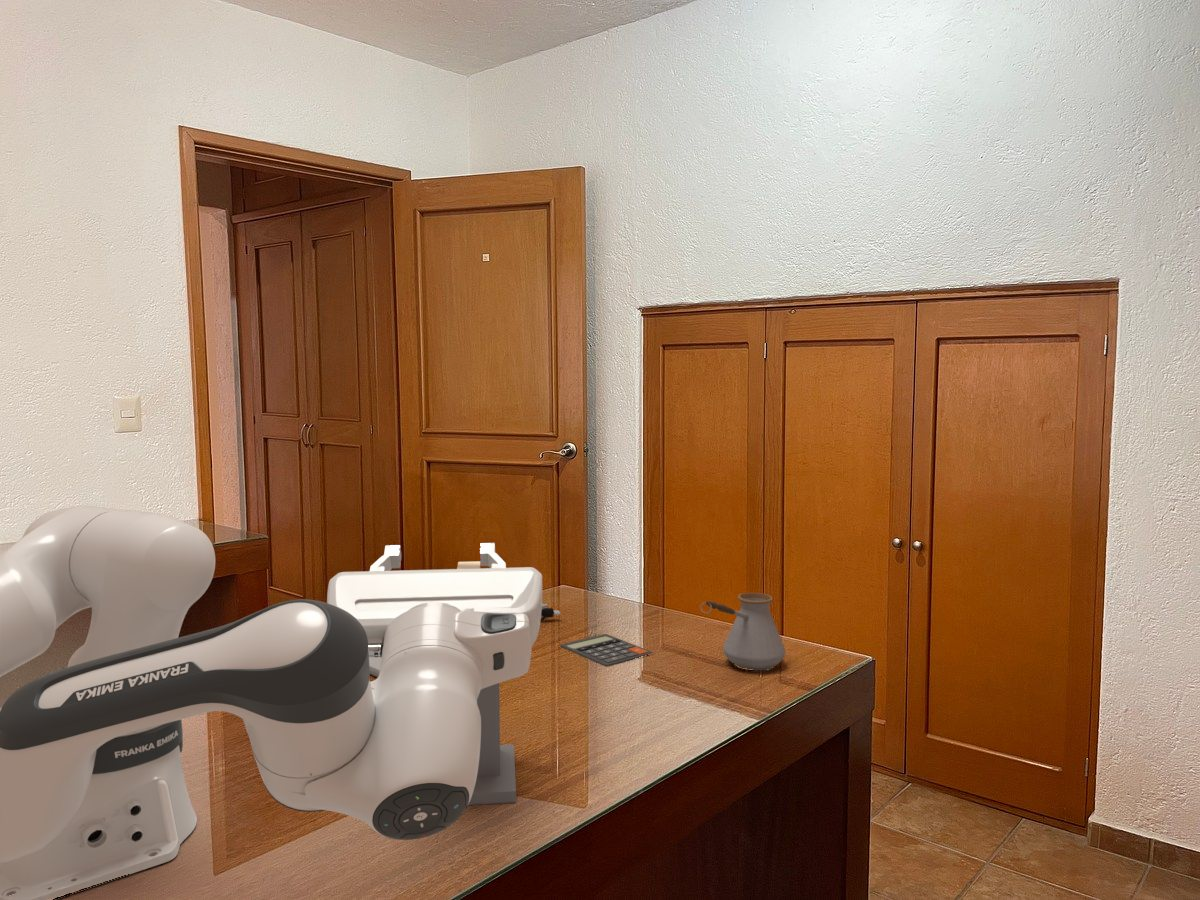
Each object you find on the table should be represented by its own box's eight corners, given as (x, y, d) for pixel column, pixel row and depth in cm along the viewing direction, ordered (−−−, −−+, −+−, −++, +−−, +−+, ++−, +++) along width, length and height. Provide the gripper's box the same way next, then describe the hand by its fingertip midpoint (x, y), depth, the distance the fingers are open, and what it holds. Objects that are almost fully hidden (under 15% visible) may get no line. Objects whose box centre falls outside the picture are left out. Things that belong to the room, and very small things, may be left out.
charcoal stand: (515, 802, 114) (514, 603, 111) (420, 807, 113) (417, 606, 110) (513, 754, 128) (512, 576, 125) (428, 758, 126) (426, 578, 124)
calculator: (606, 664, 165) (559, 643, 176) (606, 668, 165) (559, 648, 176) (654, 651, 172) (605, 632, 183) (653, 656, 172) (605, 637, 184)
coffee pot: (745, 650, 174) (747, 575, 173) (797, 664, 166) (799, 585, 165) (677, 678, 159) (678, 595, 157) (730, 695, 151) (732, 608, 149)
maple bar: (476, 625, 102) (476, 604, 102) (450, 626, 102) (450, 605, 101) (480, 579, 124) (480, 561, 123) (458, 579, 123) (458, 561, 123)
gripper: (317, 681, 80) (339, 573, 91) (545, 672, 82) (539, 568, 93) (307, 633, 76) (332, 527, 88) (546, 625, 79) (540, 522, 90)
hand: (441, 548), depth 91 cm, fingers open, 8 cm apart
